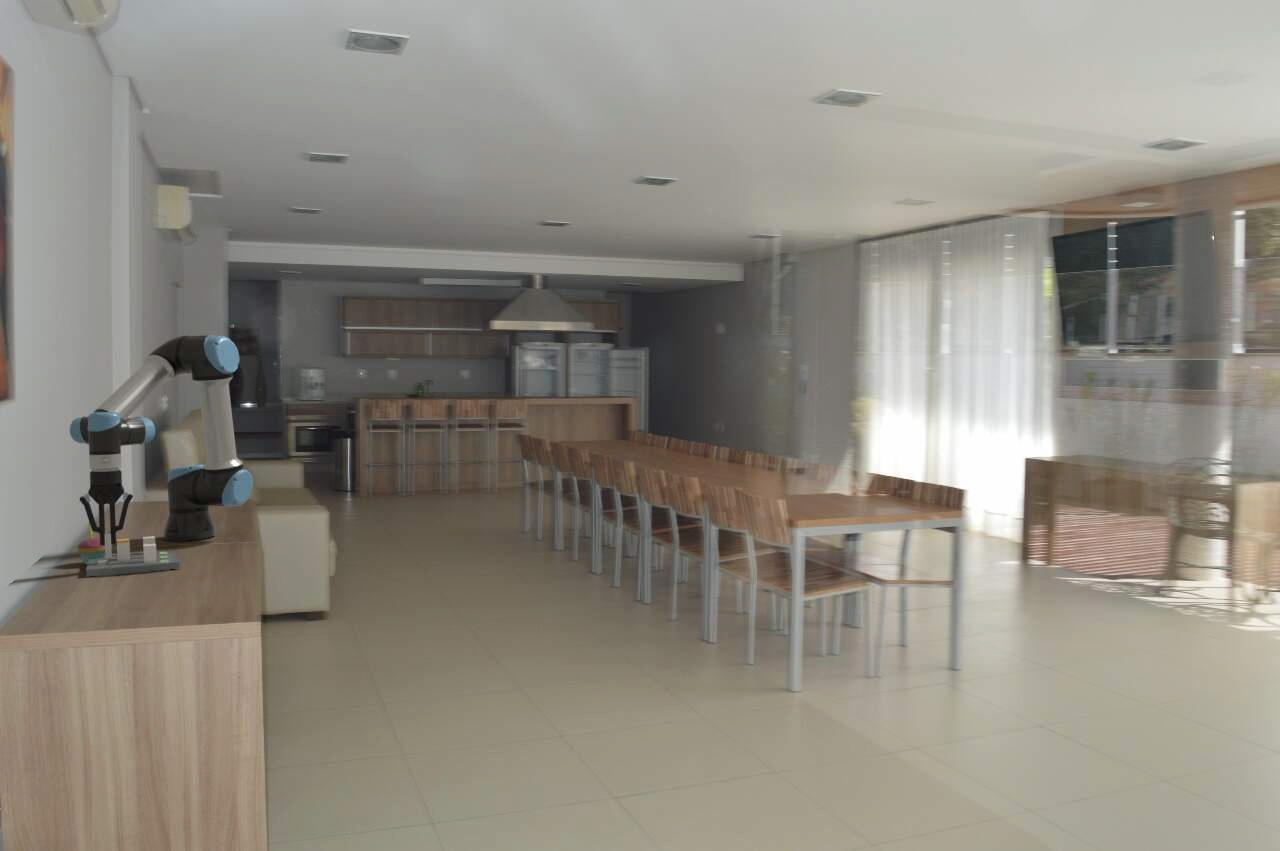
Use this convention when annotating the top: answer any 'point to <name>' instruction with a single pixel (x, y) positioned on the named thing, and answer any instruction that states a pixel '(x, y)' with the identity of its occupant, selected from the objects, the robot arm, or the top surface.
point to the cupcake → (91, 548)
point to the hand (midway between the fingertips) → (108, 556)
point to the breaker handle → (123, 549)
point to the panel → (134, 562)
